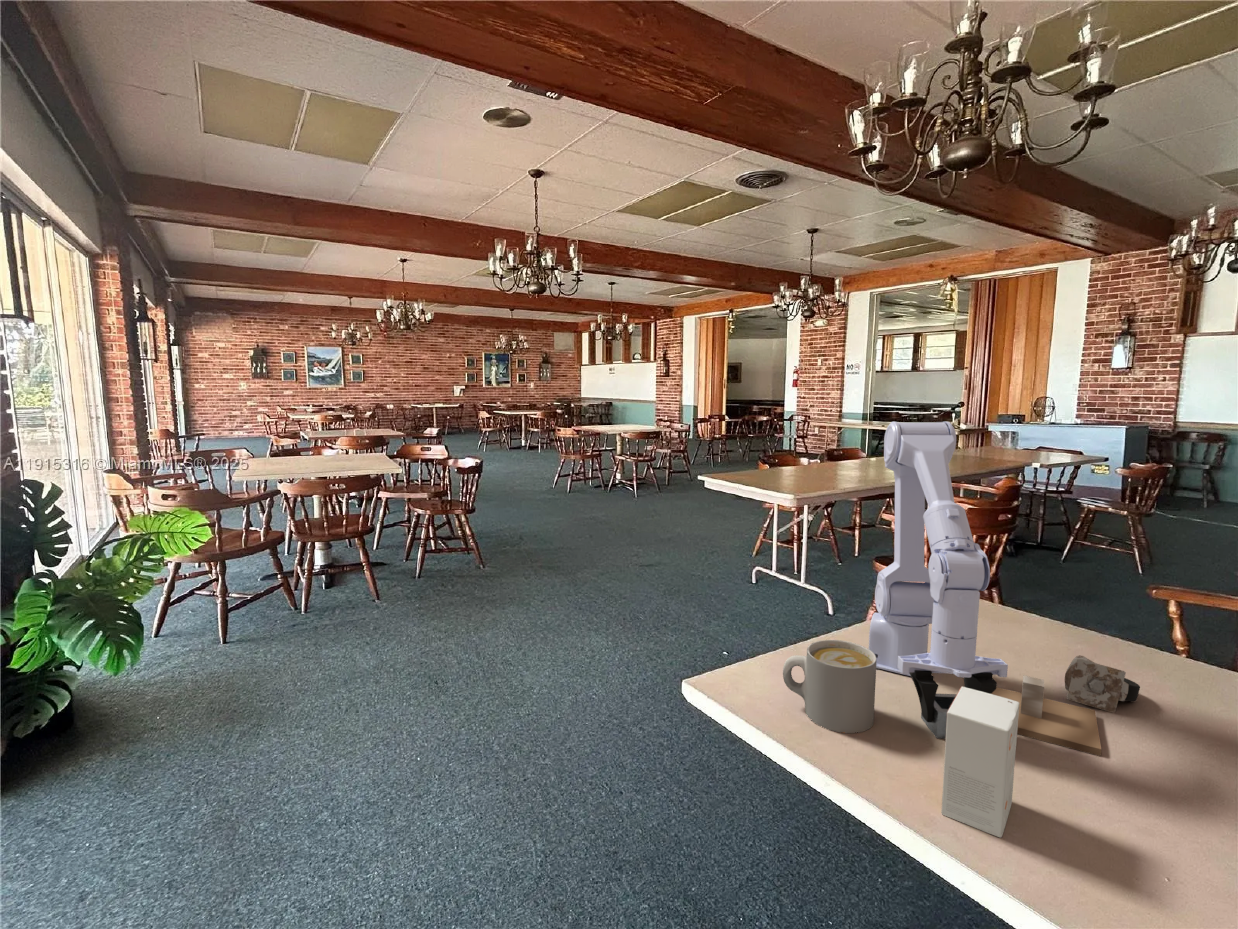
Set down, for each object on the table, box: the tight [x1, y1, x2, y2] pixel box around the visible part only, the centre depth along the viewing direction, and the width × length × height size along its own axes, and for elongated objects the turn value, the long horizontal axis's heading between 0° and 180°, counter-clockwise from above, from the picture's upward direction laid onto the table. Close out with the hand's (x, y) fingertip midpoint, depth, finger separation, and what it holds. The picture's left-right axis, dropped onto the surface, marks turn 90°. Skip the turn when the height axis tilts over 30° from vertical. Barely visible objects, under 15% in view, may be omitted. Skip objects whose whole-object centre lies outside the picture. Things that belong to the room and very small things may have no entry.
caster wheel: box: [1064, 655, 1141, 713], centre depth 98 cm, size 7×11×10 cm
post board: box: [992, 675, 1102, 757], centre depth 91 cm, size 16×12×6 cm
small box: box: [940, 686, 1019, 838], centre depth 72 cm, size 8×6×13 cm
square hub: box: [920, 693, 957, 740], centre depth 89 cm, size 5×5×4 cm
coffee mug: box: [782, 639, 877, 734], centre depth 94 cm, size 13×10×10 cm
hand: (948, 719), depth 89 cm, fingers closed on square hub, 5 cm apart
